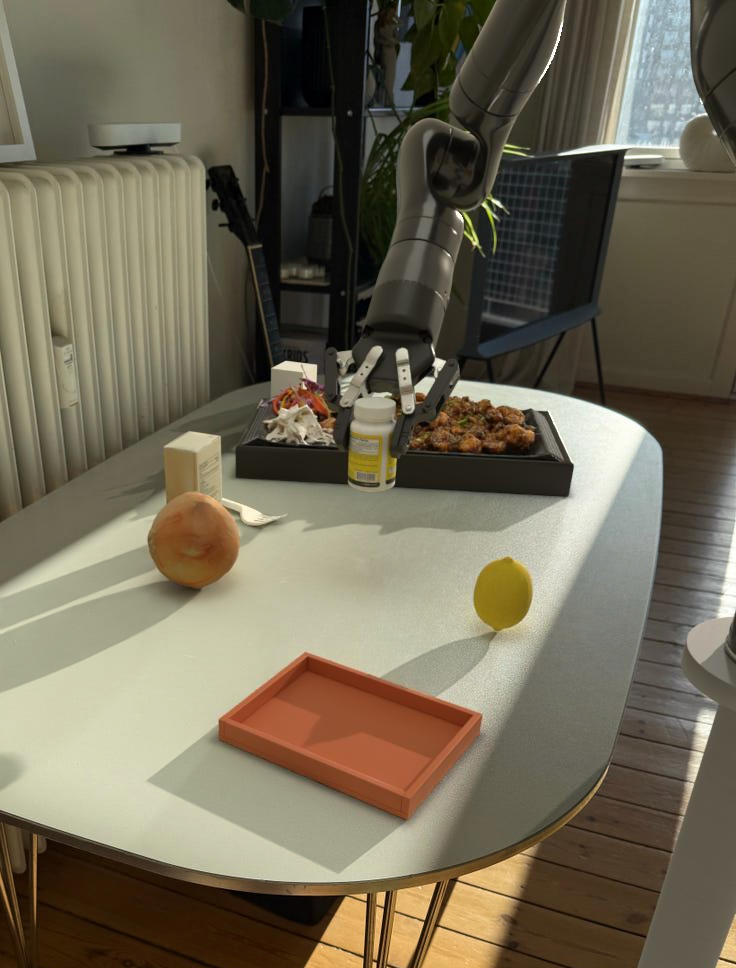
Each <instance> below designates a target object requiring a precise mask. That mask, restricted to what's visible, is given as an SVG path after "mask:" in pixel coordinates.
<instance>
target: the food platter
mask: <svg viewBox="0 0 736 968" xmlns="http://www.w3.org/2000/svg"><path fill="white" fill-rule="evenodd" d="M301 367H302V369H303V366H302V364H301ZM303 371H304V369H303ZM304 373H305V371H304ZM305 376H306V374H305ZM299 379H300V380H301V381H303V382H304V385H305V387H306V388H307V389H302V388H301V387H298V386H293V385H291V383H290V382H289V381H288V382H289V384H290V388H288V389H286V390H283V389H281V388H279V389H280V391H283V392H282V393H281V394H280V395H276V396H274V397H272V398H271V397H270V398H269V397H268V398H264V397H261V398H260V399H259V401H258V402H257V405H256V407H255V408H254V411H253V413H252V414H251V416H250V418H249V420H248V423H247V424H246V426H245V429H244V430H243V432H242V434H241V436H240V439H238V442H237V444H236V446H235V451H234V452H235V454H234V455H235V478H236V479H254V480H255V479H256V480H271V481H272V480H273V481H290V482H292V481H293V482H306V483H307V482H308V483H309V482H310V483H326V484H345V485H349V483H348V462H349V446H348V450H347V452H344V451H339V449H338V447H337V445H336V444H335V442H334V439H333V434H332V433H333V429H334V426H335V422H336V419H337V415H338V412H337V411H336V412H333V411H331V410H330V408H329V406H328V403H327V401H326V398H325V396H324V385H325V384H320V383H317V381H316V382H314V381H312V380H310V379H308V378H307V376H306V378H301V377H300V378H299ZM299 386H301V383H299ZM294 387H297V388H298V391H296V390H295V388H294ZM318 391H319V393H320V394H319V393H318ZM284 396H285V397H284ZM426 396H427V394H425V393H423V392H416V391H415V397H416V404H419V403H423V401H424V399H425V397H426ZM384 398H389V399H391V400H394V401H395V402H396V412H395V418H394V420H395V421H397V418H398V415H401V414H402V403H401V395H394V394H391V395H390V394H386V395H385V396H384ZM355 419H356V418H355ZM555 422H556V421H555V420H554V418H553V416H552V414H551V411H549V410H536V409H533V408H531V407H530V408H526V409H518V408H516V407H512V406H509V405H505V404H504V405H499V406H497V407H495V406H494V405H493V404H492V402H491V400H490V399H487V398H483V399H481V400H479V401H474V400H471V399H470V396H469V395H463V396H461V397H460V396H457V395H454V396H452V395H450V396H449V398H448V400H447V402H446V403H445V405H444V407H443V409H442V410H441V412H440V414H439V416H438V417H437V419H436V421H434V422H432V423H428V422H426V421H423V422H419V423H417V424H416V425H415V427H414V430H413V434H412V437H411V441H410V445H409V449H408V450H407V452H406V453H405V454H403V453H401V455H400V458H399V459H397V460H396V474H395V484H394V486H393V487H397V488H415V489H417V488H418V489H434V490H435V489H436V490H453V491H468V492H469V491H471V492H489V493H505V494H506V493H507V494H524V495H525V494H526V495H541V496H544V495H545V496H559V497H560V496H561V497H569V496H570V492H571V491H570V490H571V485H572V481H573V475H574V470H575V469H574V468H575V464H574V461H573V460H572V457H571V455H570V453H569V451H568V448H567V446H566V444H565V442H564V440H563V438H562V435H561V433H560V431H559V429H558V427H557V425H556V423H555Z"/></svg>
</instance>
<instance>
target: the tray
mask: <svg viewBox="0 0 736 968" xmlns="http://www.w3.org/2000/svg"><path fill="white" fill-rule="evenodd" d="M482 721H483V713H481V712H478V711H475V710H472V709H470V708H467V707H464V706H461V705H458V704H455V703H452V702H449V701H447V700H443V699H441V698H438V697H436V696H432V695H430V694H426V693H424V692H421V691H419V690H416V689H413V688H410V687H407V686H404V685H402V684H398V683H396V682H394V681H393V682H392V681H390V680H387V679H385V678H382V677H378V676H376V675H372V674H370V673H366V672H364V671H362V670H358V669H356V668H353V667H350V666H347V665H344V664H341V663H338V662H337V661H333V660H330V659H327V658H324V657H321V656H318V655H316V654H313V653H310V652H307V651H305V652H303V653H301V654H300V655H299V656H298V657H297V658H295V659H294V660H293V661H292V662H290V663H289V664H287V665H286V666H284V668H283V669H281V670H280V671H279V672H277V673H276V674H275V675H274V676H272V677H271V678H269V679H268V680H266V682H264V683H263V684H262V685H260V686H259V687H258V688H257V689H256V690H254V691H253V692H251V693H250V694H249V695H248V696H247V697H245V698H244V699H243V700H241V701H240V702H238V703H237V704H235V706H233V707H232V708H231V709H230V710H229V711H227V712H226V713H225V714H224V715H222V716H220V717H219V718H218V720H217V722H218V723H217V724H218V740H220V741H222V742H223V743H226V744H228V745H231V746H233V747H236V748H238V749H241V750H243V751H245V752H247V753H250V754H253V755H255V756H257V757H259V758H261V759H264V760H266V761H268V762H271V763H273V764H275V765H278V766H280V767H281V768H284V769H287V770H290V771H292V772H294V773H296V774H299V775H301V776H303V777H306V778H308V779H311V780H313V781H315V782H317V783H319V784H322V785H324V786H327V787H329V788H331V789H333V790H335V791H338V792H340V793H343V794H345V795H348V796H350V797H353V798H354V799H357V800H358V801H362V802H364V803H366V804H369V805H371V806H373V807H376V808H378V809H380V810H381V811H382V810H383V811H385V812H387V813H388V814H389V813H390V814H391V815H393V816H397V817H398V818H402V819H404V820H405V821H408V820H409V819H410V818H411V816H412V815H413V814H414V813H415V811H417V809H418V808H419V807H420V806H421V805H422V803H423V802H424V801H425V800H426V798H427V797H428V796H429V795H430V794H431V792H433V790H434V789H435V788H436V787H437V785H439V783H440V782H441V781H442V779H443V778H444V777H445V776H446V775H447V774H448V772H449V771H450V770H451V769H452V768H453V766H454V765H455V764H456V763H457V761H458V760H459V759H460V758H461V757H462V756H463V754H465V752H466V751H467V750H468V749H469V747H470V746H471V744H472V743H474V741H475V740H476V739H477V738H478V736H479V735H480V734H481V727H482Z"/></svg>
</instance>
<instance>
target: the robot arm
mask: <svg viewBox="0 0 736 968" xmlns="http://www.w3.org/2000/svg"><path fill="white" fill-rule="evenodd" d="M566 4H567V0H496V1H495V3H494V4H493V7H492V9H491V10H490V12H489V15H488V16H487V19H486V21H485V22H484V25H483V26H482V28H481V30H480V32H479V34H478V36H477V38H476V40H475V41H474V43H473V45H472V47H471V49H470V50H469V53H468V55H467V56H466V59H465V60H464V63H463V64H462V66H461V68H460V70H459V72H458V73H457V75H456V77H455V79H454V82H453V83H452V86H451V89H450V91H449V95H448V105H449V109H450V113H451V114H452V116H453V117H454V119H455V120H456V121H457V122H458V123H459V125H461V127H463V128H464V129H465V130H466V131H465V130H463V129H460V128H458V127H456V126H455V125H451V124H449V123H448V122H445V121H442V120H441V119H437V118H435V117H434V118H433V117H427V118H423V119H421V120H418V121H417V122H415V124H413V125H412V126H411V127H410V128H409V129H408V130H407V132H406V133H405V135H404V136H403V139H402V140H401V143H400V146H399V149H398V153H397V159H396V170H395V172H396V173H395V183H396V184H395V185H396V218H395V219H396V220H395V224H394V227H393V232H392V236H391V239H390V242H389V246H388V250H387V253H386V255H385V258H384V260H383V263H382V264H381V267H380V270H379V272H378V275H377V279H376V282H375V285H374V289H373V292H372V296H371V300H370V303H369V307H368V310H367V313H366V315H365V316H366V317H365V320H364V324H363V326H362V331H361V335H360V338H359V339H358V341H357V343H355V345H354V346H353V347H352V349H349V350H343V351H338V350H337V349H336V347H334V346H330V347H328V348H327V349H325V351H324V384H323V385H324V392H323V393H324V396H325V398H326V401H327V403H328V406H329V408H330V410H331V411H333V412H336V411H337V412H338V415H337V419H336V422H335V426H334V429H333V433H332V434H333V439H334V442H335V444H336V445H337V447H338V449H339V451H344V452H347V450H348V446H349V435H350V424H351V422H352V421H353V420H354V419H355V417H354V406H355V401H356V400H358V399H360V398H365V397H373V396H374V394H382V393H388V394H391V395H392V394H394V395H401V403H402V414H401V415H398V418H397V421H396V425H395V429H394V432H393V436H392V440H391V443H390V449H389V450H390V454H391V457H392V458H397V459H399V458H400V455H401V453H403V454H405V453H406V452H407V450H408V449H409V445H410V441H411V437H412V434H413V430H414V427H415V425H416V424H417V423H419V422H423V421H426V422H428V423H432V422H434V421H436V419H437V417H438V416H439V414H440V412H441V410H442V409H443V407H444V405H445V403H446V402H447V400H448V398H449V397H450V396H452V393H453V391H454V389H455V388H456V386H457V384H458V383H459V381H460V378H461V374H460V365H459V361H458V359H456V358H455V357H451V358H448V359H447V360H444V359H443V358H439V357H437V356H436V351H435V350H436V347H437V344H438V340H439V336H440V332H441V329H442V325H443V321H444V317H445V314H446V310H447V309H448V306H449V302H450V299H451V298H450V295H451V290H452V286H453V277H454V271H455V268H456V263H457V260H458V255H459V252H460V249H461V244H462V241H463V237H464V230H465V224H464V219H463V217H462V215H461V213H467V212H471V211H473V210H475V209H477V208H478V207H480V206H481V205H483V204H484V202H485V201H486V200H487V199H488V198H489V196H490V195H491V192H492V190H493V187H494V185H495V182H496V178H497V175H498V172H499V168H500V165H501V160H502V157H503V152H504V149H505V147H506V144H507V141H508V139H509V135H510V133H511V131H512V130H513V129H512V128H513V127H514V124H516V123H515V122H516V121H517V119H518V117H519V115H520V113H521V112H522V110H523V109H524V107H525V106H526V104H527V103H528V101H529V99H530V98H531V96H532V94H533V93H534V91H535V89H537V86H538V84H539V83H540V81H541V79H542V78H543V77H544V75H545V73H546V71H547V69H548V68H549V65H550V64H551V61H552V60H553V58H554V55H555V52H556V49H557V46H558V43H559V41H560V36H561V32H562V27H563V23H564V17H565V11H566ZM689 10H690V12H689V15H690V17H689V18H690V19H689V50H690V51H689V54H690V56H689V57H690V67H691V74H692V81H693V83H694V86H695V90H696V93H697V95H698V98H699V100H700V102H701V105H702V106H703V109H704V110H705V111H704V112H706V114H707V115H706V116H707V117H708V119H709V121H710V124H711V125H712V128H713V129H714V131H715V134H716V136H717V138H718V140H719V142H720V144H721V145H722V148H723V149H724V151H725V153H726V155H727V156H728V158H729V160H730V161H731V163H732V164H733V166H734V168H736V0H689ZM460 212H461V213H460ZM351 364H354V366H355V368H356V370H357V371H356V372H355V373H354V375H353V376H352V378H351V380H350V384H349V386H348V388H347V390H345V393H344V394H343V395H342V376H344V375H346V373H347V371H348V369H349V366H350V365H351ZM432 372H433V377H434V381H433V383H432V385H431V387H430V389H429V391H428V392H427V394H426V397H425V399H424V401H423V403H419V404H416V397H415V393H416V389H415V387H416V386H417V385H418V384H419V383H421V382H422V381H423V380H424V379H425V378H426V377H427V376H428V375H430V374H431V373H432ZM732 617H733V621H732V623H731V625H730V629H729V634H728V635H727V637H726V640H725V643H724V650H725V653H726V654H727V656H728V657H729V658H730V659H731V660H732V661H733V662H734V663H735V664H736V610H735V611H734V614H733V616H732Z"/></svg>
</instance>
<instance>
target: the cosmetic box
mask: <svg viewBox="0 0 736 968" xmlns="http://www.w3.org/2000/svg"><path fill="white" fill-rule="evenodd" d="M163 462H164V479H165V480H164V481H165V499H166V505H167V504H168V503H169V502H170V501H171V500H173V499H174V498H176V497H178V496H180V495H182V494H184V493H186V492H190V491H196V492H199V493H202V494H205V495H208V496H210V497H212V498H214V499H215V500H217V501H218V502H219V503H220V504H221V505H222V498H223V490H222V489H223V487H222V485H223V483H222V481H223V479H222V437H221V435H216V434H210V433H203V432H197V431H191V430H188V431H187V432H185V433H183V434H181V435H180V436H178V437H177V438H175V439H173V440H172V441H170V442H169V443H167V444H165V445H164V446H163ZM222 506H223V505H222Z"/></svg>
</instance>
